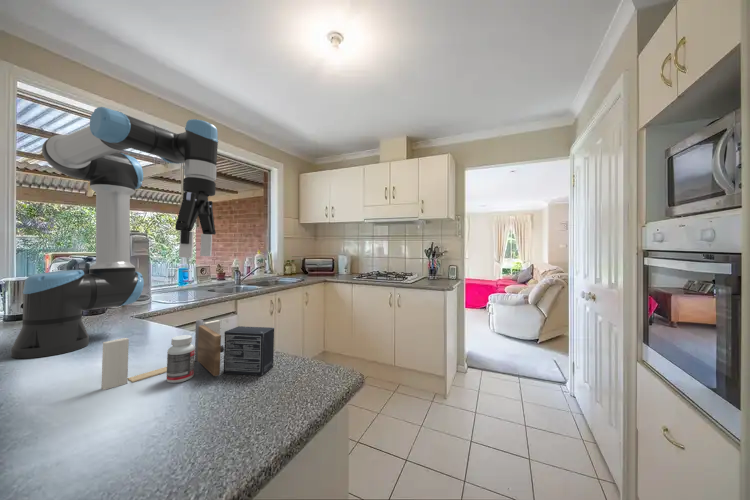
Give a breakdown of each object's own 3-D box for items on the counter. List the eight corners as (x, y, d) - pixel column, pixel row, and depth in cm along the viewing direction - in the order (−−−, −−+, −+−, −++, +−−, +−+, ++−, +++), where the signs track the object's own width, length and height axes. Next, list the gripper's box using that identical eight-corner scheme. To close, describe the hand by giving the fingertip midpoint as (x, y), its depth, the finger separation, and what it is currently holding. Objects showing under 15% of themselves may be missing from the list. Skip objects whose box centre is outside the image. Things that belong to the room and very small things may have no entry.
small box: (274, 366, 74) (275, 326, 75) (262, 376, 68) (263, 333, 68) (237, 363, 76) (238, 324, 76) (222, 373, 69) (223, 331, 69)
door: (214, 376, 66) (215, 336, 66) (197, 360, 75) (198, 325, 76) (225, 373, 68) (226, 334, 68) (207, 358, 77) (208, 324, 77)
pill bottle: (196, 379, 66) (197, 337, 66) (168, 386, 62) (169, 342, 62) (191, 371, 70) (192, 332, 70) (164, 378, 66) (166, 336, 66)
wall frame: (100, 387, 61) (101, 337, 61) (214, 353, 82) (216, 316, 83) (105, 391, 59) (106, 339, 60) (220, 355, 81) (221, 317, 81)
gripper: (202, 188, 88) (199, 255, 88) (160, 164, 63) (156, 257, 63) (228, 190, 89) (225, 256, 89) (197, 168, 65) (193, 258, 65)
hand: (196, 256), depth 76 cm, fingers open, 13 cm apart
